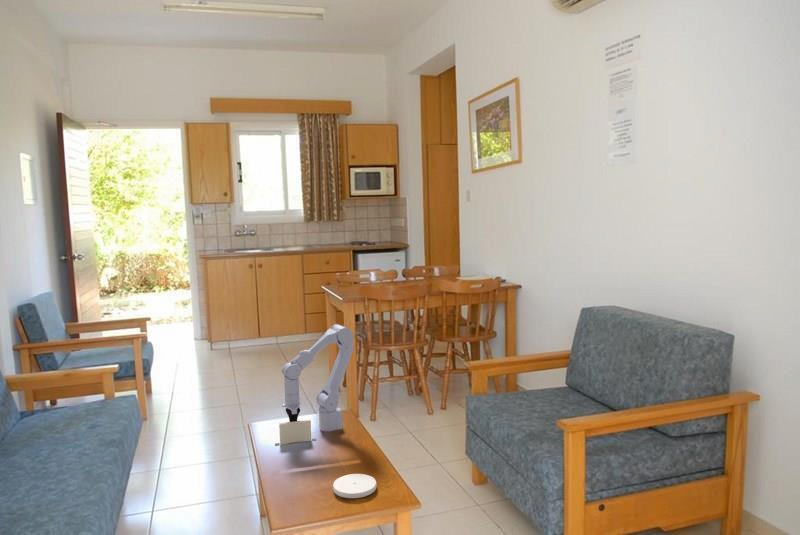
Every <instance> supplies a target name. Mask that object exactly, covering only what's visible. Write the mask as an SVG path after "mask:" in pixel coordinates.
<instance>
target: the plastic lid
mask: <svg viewBox="0 0 800 535" xmlns="http://www.w3.org/2000/svg"><path fill="white" fill-rule="evenodd" d="M332 489H333V490H332V491H333V492H334V494H335V495H336V496H338V497H341V498H345V499H359V498H364V497H367V496H369V495H371V494H372V493H374V492H375V491H376V489H377V481H376V479H375V478H374V477H373V476H371V475H368V474H364V473H351V474H350V473H349V474H347V475H343V476H340V477H337V478H336V479H335V480H334V481H333V484H332Z"/></svg>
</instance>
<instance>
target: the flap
mask: <svg viewBox="0 0 800 535" xmlns="http://www.w3.org/2000/svg"><path fill="white" fill-rule="evenodd" d="M311 424H312V422H311V419H304V420H303V419H302V420H297V421H294V422H290V421H286V422H279V424H278V425H279V426H278V427H279V444H280V445H284V444H291V443H292V444H293V443H300V442H307V441H312V425H311Z"/></svg>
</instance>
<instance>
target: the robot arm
mask: <svg viewBox="0 0 800 535" xmlns="http://www.w3.org/2000/svg"><path fill="white" fill-rule="evenodd" d="M354 336H355V335H354V333H353V332H352V330H351V329H350V328H349V327H346V326H343V325H341V324H339V323H335V324H333V325H332V326H331V327H330V328H328V329H327V330H326V331H325V333H324V334H323V335H322V336H321V337H320V338H319V339H318V340H317V341H316V342H315V343H314V344H313V345H312V346H311V347H310V348H309V349H303V350H300V351H298V353H299V354H298V355H296V356H295V357H294V358H293V359H290V360H289V362H286V363H285V364H284V365H283V367H282V369H281V373H282V375H283V376H284V377H283V378H284V400H285V402H284V403H282V407H283V408H284V409H285V413H286V414H287V416H288V420H289V421H288V422H294V421H298V418H299V415H300V412H301V409H300V408H301V407H300V406H301V402H300V401H301V400H300V381H299V377H300V376H301V374H302V371H303V370H304V369H306V368H307V367H308V366H309V365H310V364H311V363H312V362H313V361H314V359H315V356H316V355H317V354H319V352H321V351H322V350H324V349H325V348H326V347H327V346H329V345H330V344H331V345H332V344H337V346H338V348H339V351H338V353H337V355H336V359H335V360H334V364H333V367H332V369H331V372H330V374H329V376H328V380H327V382H326V384H325V385H324V386H323V387H322V388H321V390H320V392H318V394H317V395H316V399H315V400H316V403H317V404H318V420H319V421H318V423H319V430H320V431H321V432H333V431H339V430H343V413H342V412H343V411H342V408H341V407H339V398H340V392H339V390H340V386H341V383H342V381H343V378H344V375H345V373H346V370H347V368H348V365H349V362H350V360H351V357H352V354H353V352H354Z"/></svg>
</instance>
